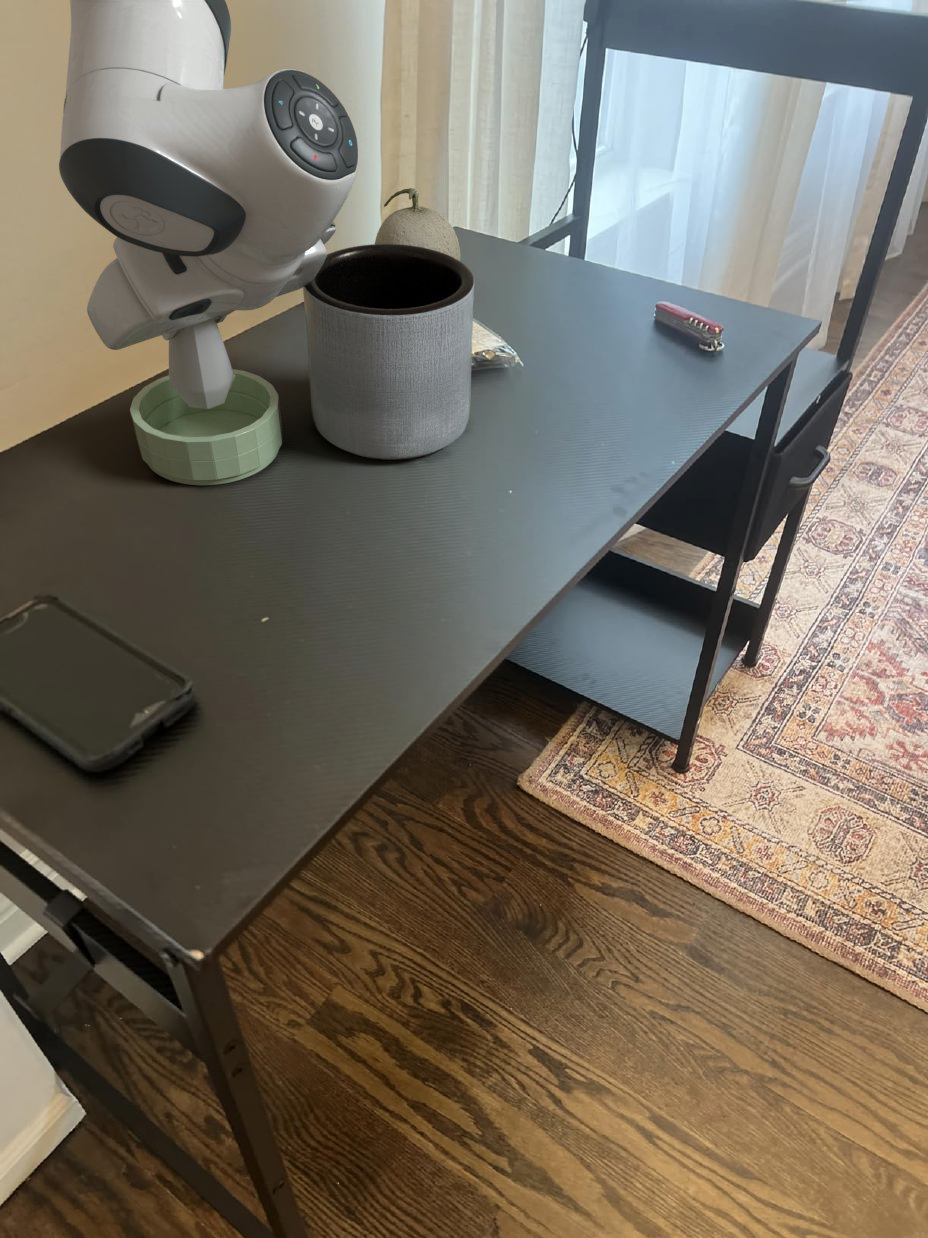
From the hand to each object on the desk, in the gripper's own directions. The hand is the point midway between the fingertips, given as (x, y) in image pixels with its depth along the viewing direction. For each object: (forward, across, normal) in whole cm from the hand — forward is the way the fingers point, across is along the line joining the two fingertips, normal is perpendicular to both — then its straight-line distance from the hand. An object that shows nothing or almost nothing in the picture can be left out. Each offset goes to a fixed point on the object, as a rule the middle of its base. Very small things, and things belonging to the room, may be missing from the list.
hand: (188, 323), depth 83 cm
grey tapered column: (+5, 0, +6) cm, 7 cm away
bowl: (+9, 0, +9) cm, 13 cm away
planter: (+3, -16, +15) cm, 22 cm away
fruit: (+17, -37, +1) cm, 41 cm away
